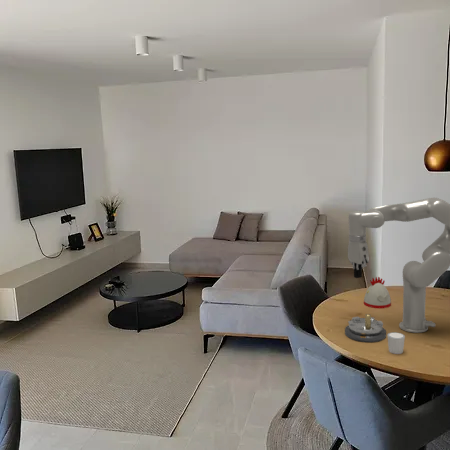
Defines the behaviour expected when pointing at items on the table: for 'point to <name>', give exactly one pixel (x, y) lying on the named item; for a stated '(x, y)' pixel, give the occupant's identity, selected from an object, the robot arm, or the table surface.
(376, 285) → the white crested helmet
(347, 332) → the dark grey round base
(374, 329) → the grey tabbed disc
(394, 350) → the grey white-topped cylinder
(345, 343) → the table surface
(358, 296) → the table surface
